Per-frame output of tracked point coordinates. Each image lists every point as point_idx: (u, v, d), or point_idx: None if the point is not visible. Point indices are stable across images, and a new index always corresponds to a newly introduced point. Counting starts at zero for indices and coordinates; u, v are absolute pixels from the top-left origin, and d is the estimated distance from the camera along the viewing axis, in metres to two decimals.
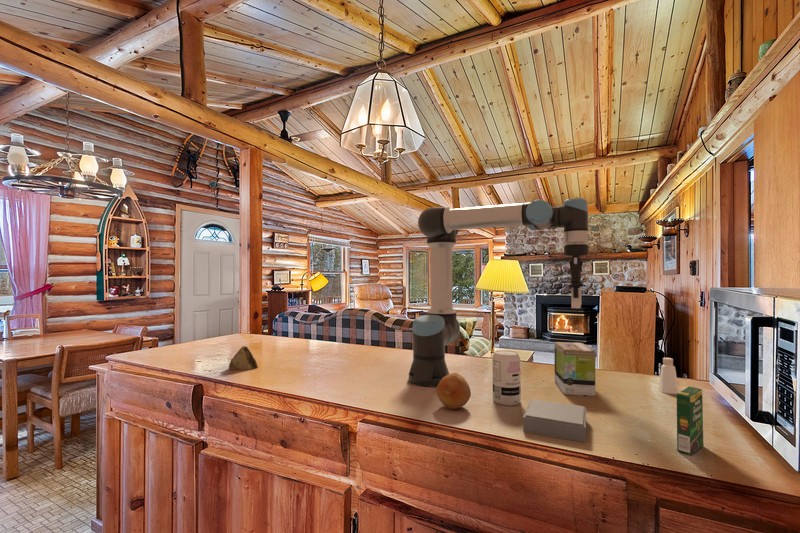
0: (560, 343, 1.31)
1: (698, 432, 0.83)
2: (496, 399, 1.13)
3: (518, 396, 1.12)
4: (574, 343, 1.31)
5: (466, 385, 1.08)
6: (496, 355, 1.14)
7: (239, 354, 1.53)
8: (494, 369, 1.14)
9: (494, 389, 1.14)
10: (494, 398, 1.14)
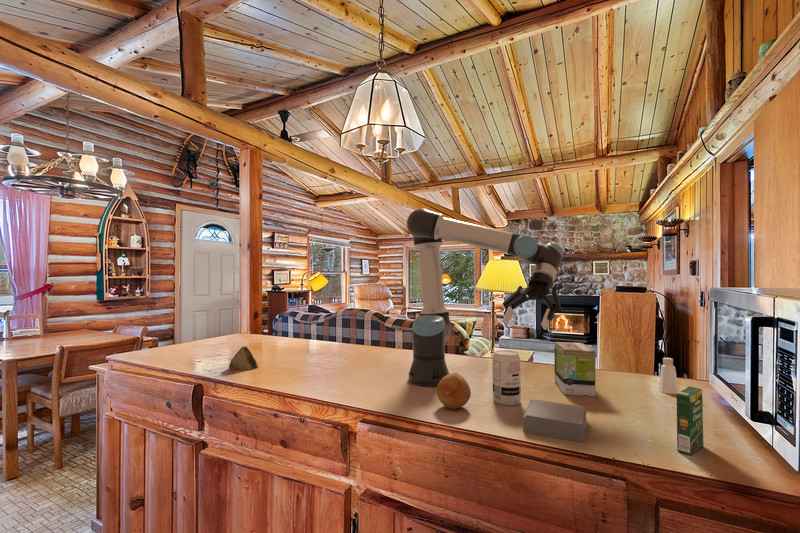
0: (560, 343, 1.32)
1: (698, 432, 0.83)
2: (496, 399, 1.13)
3: (518, 396, 1.12)
4: (574, 343, 1.31)
5: (466, 385, 1.08)
6: (496, 355, 1.14)
7: (239, 354, 1.53)
8: (494, 369, 1.14)
9: (494, 389, 1.14)
10: (494, 398, 1.14)
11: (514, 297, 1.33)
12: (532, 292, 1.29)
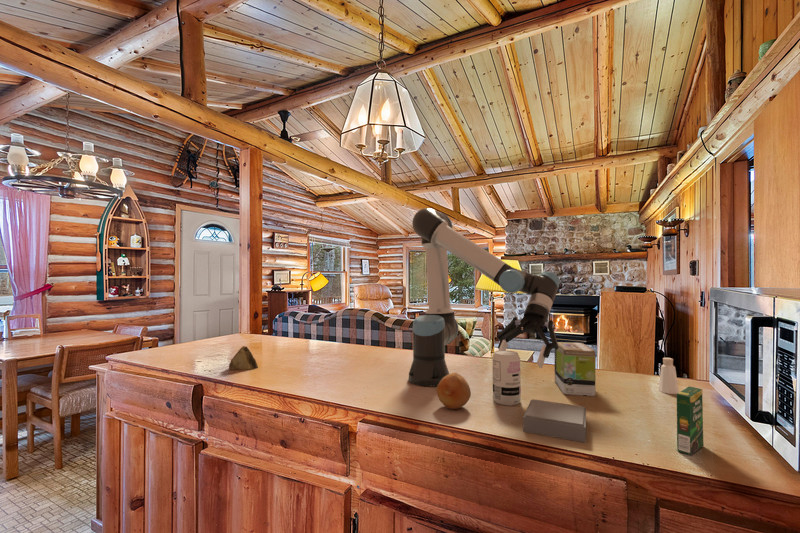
0: (560, 343, 1.32)
1: (698, 432, 0.83)
2: (496, 399, 1.13)
3: (518, 396, 1.12)
4: (574, 343, 1.31)
5: (466, 385, 1.08)
6: (496, 355, 1.14)
7: (239, 354, 1.53)
8: (494, 369, 1.14)
9: (494, 389, 1.14)
10: (494, 398, 1.14)
11: (509, 329, 1.28)
12: (527, 325, 1.24)
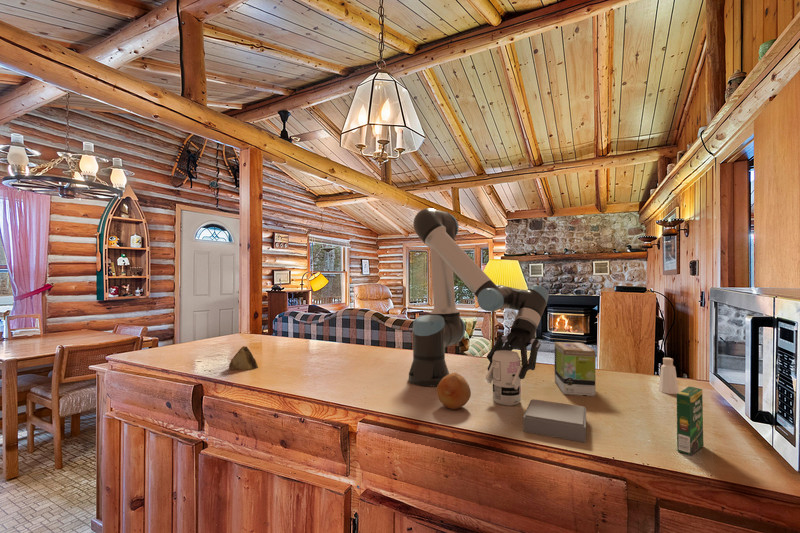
0: (560, 343, 1.31)
1: (698, 432, 0.83)
2: (496, 399, 1.13)
3: (518, 396, 1.12)
4: (574, 343, 1.31)
5: (466, 385, 1.08)
6: (496, 355, 1.14)
7: (239, 354, 1.53)
8: (494, 369, 1.14)
9: (494, 389, 1.14)
10: (494, 398, 1.14)
11: (497, 347, 1.22)
12: (513, 341, 1.20)
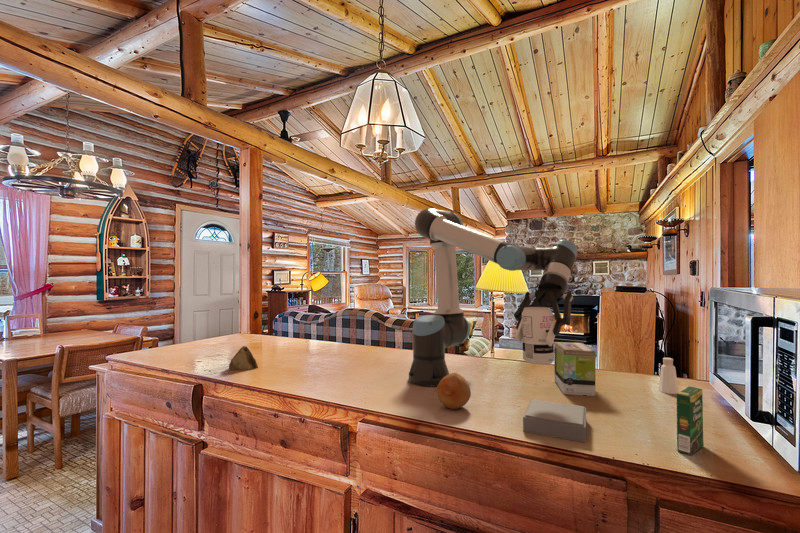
0: (560, 343, 1.32)
1: (698, 432, 0.83)
2: (528, 358, 1.02)
3: (552, 354, 1.01)
4: (574, 343, 1.31)
5: (466, 385, 1.08)
6: (526, 310, 1.03)
7: (239, 354, 1.53)
8: (524, 326, 1.03)
9: (525, 348, 1.03)
10: (525, 358, 1.03)
11: (525, 305, 1.12)
12: (543, 297, 1.10)
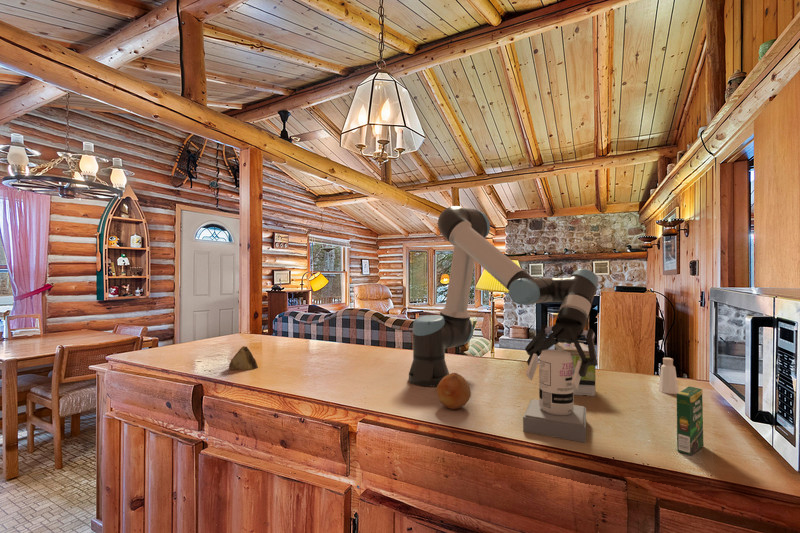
0: (560, 343, 1.32)
1: (698, 432, 0.83)
2: (545, 407, 0.94)
3: (572, 404, 0.93)
4: None
5: (466, 385, 1.08)
6: (545, 355, 0.95)
7: (239, 354, 1.53)
8: (542, 372, 0.95)
9: (542, 395, 0.95)
10: (542, 406, 0.95)
11: (539, 339, 1.05)
12: (561, 333, 1.02)
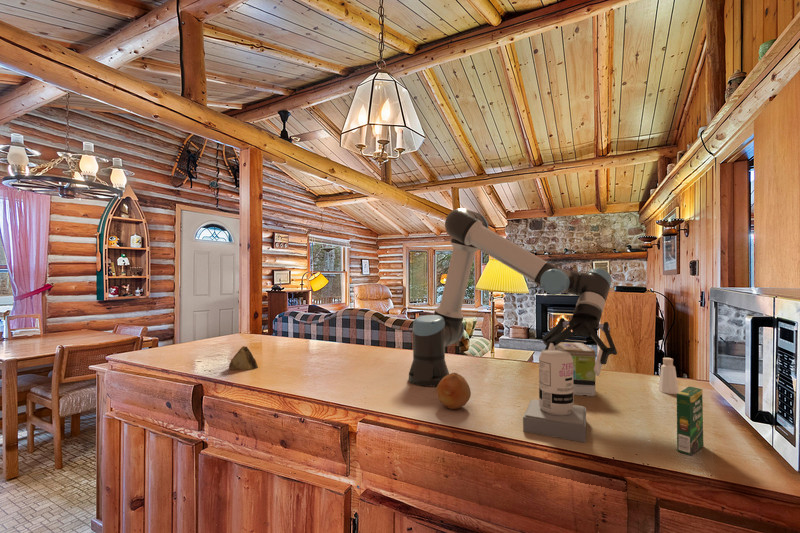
0: (560, 343, 1.31)
1: (698, 432, 0.83)
2: (545, 408, 0.94)
3: (572, 404, 0.93)
4: (574, 343, 1.31)
5: (466, 385, 1.08)
6: (544, 355, 0.95)
7: (239, 354, 1.53)
8: (542, 372, 0.95)
9: (542, 396, 0.95)
10: (542, 406, 0.95)
11: (556, 331, 1.15)
12: (578, 327, 1.11)
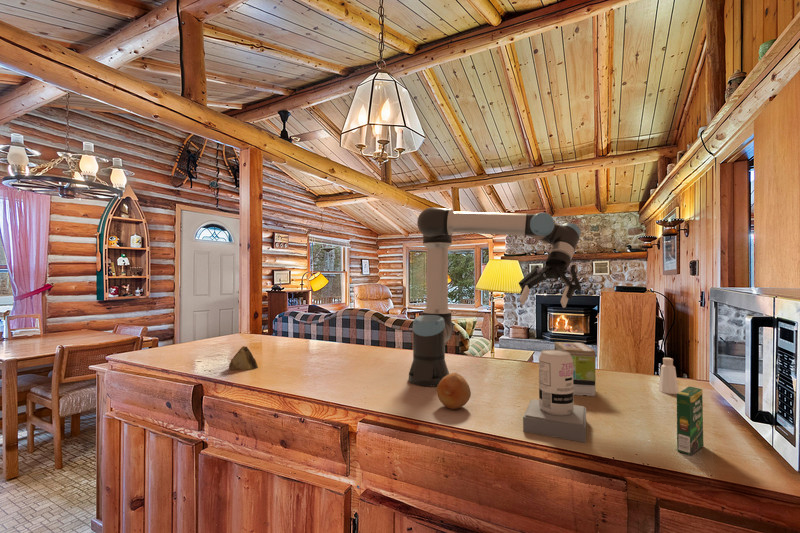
0: (560, 343, 1.31)
1: (698, 432, 0.83)
2: (545, 408, 0.94)
3: (572, 404, 0.93)
4: (574, 343, 1.31)
5: (466, 385, 1.08)
6: (544, 355, 0.95)
7: (239, 354, 1.53)
8: (542, 372, 0.95)
9: (542, 396, 0.95)
10: (542, 406, 0.95)
11: (531, 276, 1.30)
12: (549, 271, 1.26)
